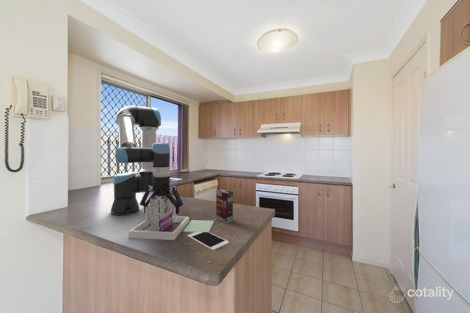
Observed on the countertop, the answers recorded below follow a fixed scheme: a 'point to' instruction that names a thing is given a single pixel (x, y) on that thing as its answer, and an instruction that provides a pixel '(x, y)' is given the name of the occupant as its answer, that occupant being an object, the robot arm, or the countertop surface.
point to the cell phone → (208, 240)
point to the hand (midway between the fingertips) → (161, 220)
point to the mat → (199, 226)
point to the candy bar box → (160, 213)
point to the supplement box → (224, 206)
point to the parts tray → (140, 234)
